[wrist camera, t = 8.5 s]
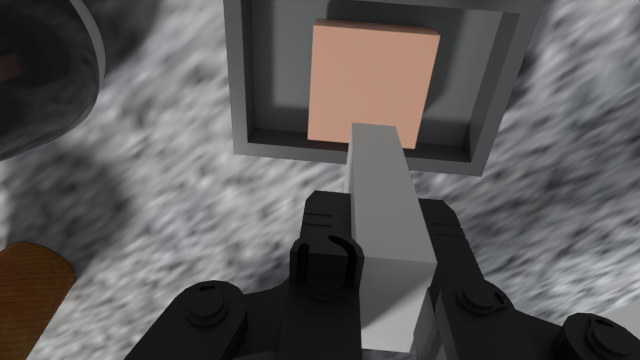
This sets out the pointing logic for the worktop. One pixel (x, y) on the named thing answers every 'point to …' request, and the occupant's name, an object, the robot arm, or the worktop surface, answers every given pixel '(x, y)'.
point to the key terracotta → (369, 77)
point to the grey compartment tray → (387, 8)
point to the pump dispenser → (46, 71)
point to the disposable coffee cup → (29, 295)
